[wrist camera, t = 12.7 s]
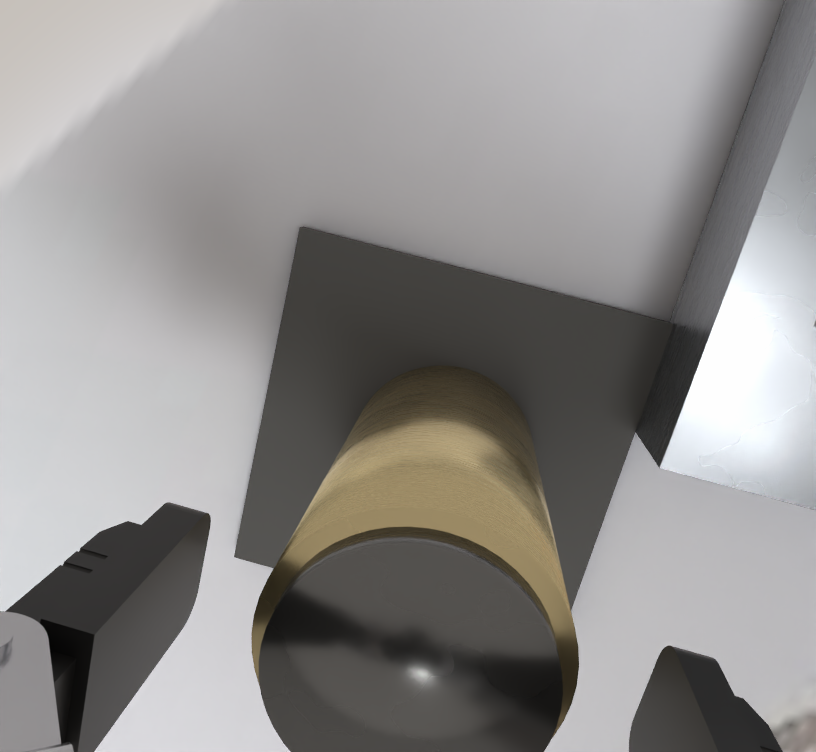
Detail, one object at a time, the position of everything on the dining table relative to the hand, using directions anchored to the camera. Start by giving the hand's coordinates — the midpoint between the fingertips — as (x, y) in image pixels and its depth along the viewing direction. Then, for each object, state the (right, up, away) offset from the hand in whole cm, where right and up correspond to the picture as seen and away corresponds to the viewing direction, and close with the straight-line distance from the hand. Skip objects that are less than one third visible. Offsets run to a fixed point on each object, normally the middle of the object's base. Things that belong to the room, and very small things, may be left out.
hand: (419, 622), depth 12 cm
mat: (+1, +2, +8) cm, 8 cm away
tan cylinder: (+1, +2, +7) cm, 8 cm away
